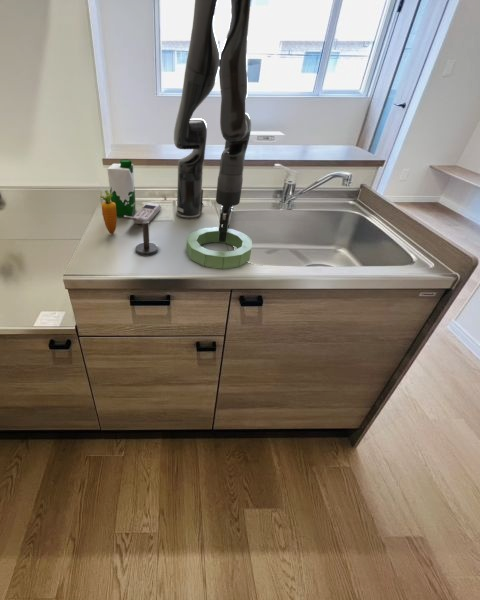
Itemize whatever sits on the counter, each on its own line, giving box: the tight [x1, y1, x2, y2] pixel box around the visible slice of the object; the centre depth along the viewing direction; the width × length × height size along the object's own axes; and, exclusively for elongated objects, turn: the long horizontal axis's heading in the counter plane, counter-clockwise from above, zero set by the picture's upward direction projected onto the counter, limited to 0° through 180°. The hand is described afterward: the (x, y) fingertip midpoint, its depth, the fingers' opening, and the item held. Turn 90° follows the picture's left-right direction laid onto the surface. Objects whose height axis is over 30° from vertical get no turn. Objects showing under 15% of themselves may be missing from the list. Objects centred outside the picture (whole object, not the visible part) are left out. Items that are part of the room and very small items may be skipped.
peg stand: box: [135, 221, 159, 257], centre depth 98 cm, size 7×7×10 cm
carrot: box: [99, 189, 118, 236], centre depth 105 cm, size 5×5×15 cm
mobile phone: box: [123, 202, 162, 225], centre depth 119 cm, size 6×6×25 cm
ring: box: [185, 226, 253, 270], centre depth 100 cm, size 20×20×4 cm
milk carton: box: [106, 158, 136, 218], centre depth 119 cm, size 9×9×20 cm
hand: (223, 235), depth 107 cm, fingers open, 8 cm apart
